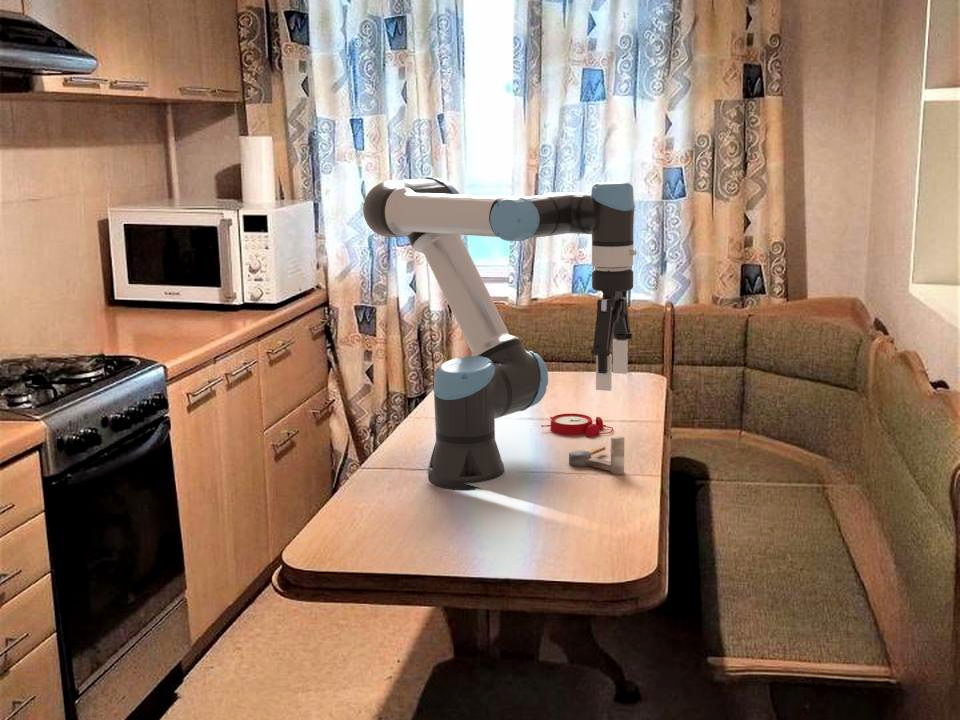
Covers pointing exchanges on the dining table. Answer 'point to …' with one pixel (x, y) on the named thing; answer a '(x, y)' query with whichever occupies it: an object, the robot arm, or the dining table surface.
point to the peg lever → (615, 466)
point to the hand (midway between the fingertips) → (612, 381)
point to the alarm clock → (576, 425)
